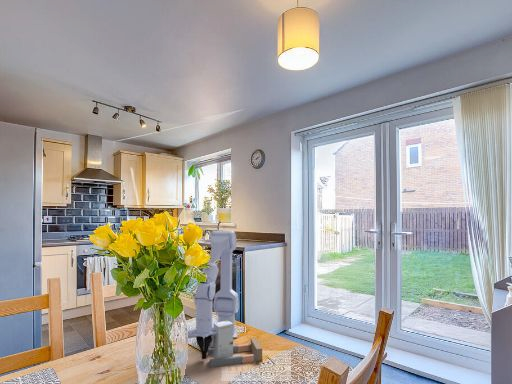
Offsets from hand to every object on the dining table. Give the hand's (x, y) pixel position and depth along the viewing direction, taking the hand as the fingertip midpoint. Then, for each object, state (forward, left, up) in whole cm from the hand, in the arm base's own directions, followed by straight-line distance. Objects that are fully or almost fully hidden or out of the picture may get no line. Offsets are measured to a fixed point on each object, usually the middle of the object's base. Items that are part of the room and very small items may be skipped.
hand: (204, 357), depth 104 cm
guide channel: (0, +11, -1) cm, 11 cm away
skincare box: (0, +7, -1) cm, 7 cm away
